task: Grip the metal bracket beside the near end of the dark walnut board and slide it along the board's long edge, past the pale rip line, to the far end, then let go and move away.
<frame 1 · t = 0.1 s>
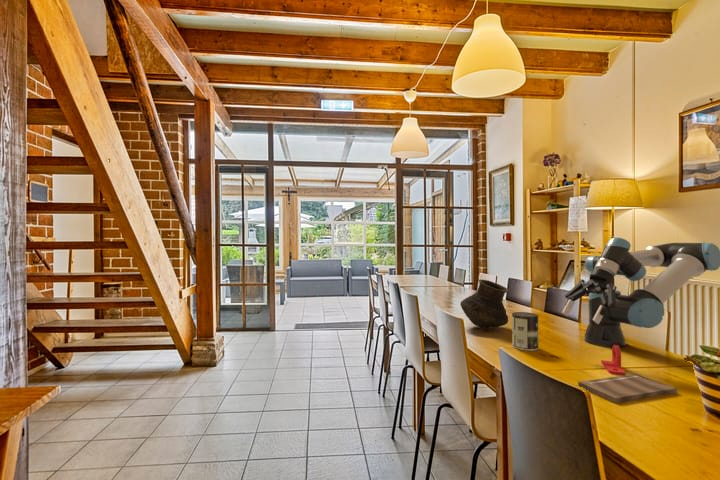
hand: (579, 318, 139), 15 cm above the table, tool tilted 35°, fingers open, 13 cm apart
coffee can: (525, 347, 153), on the table
walnut board: (626, 389, 109), on the table
bracket: (612, 369, 127), on the table
ceramic pot: (484, 328, 186), on the table
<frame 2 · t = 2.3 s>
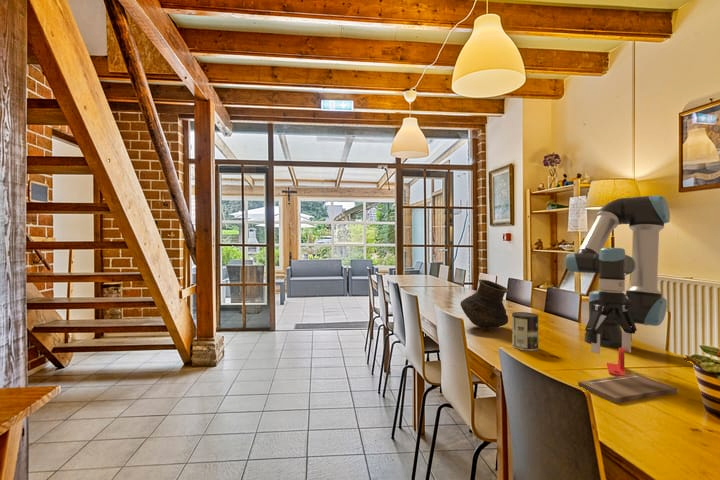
hand: (611, 352, 126), 6 cm above the table, tool pointing down, fingers open, 13 cm apart
bracket: (616, 372, 125), on the table, touching gripper
everything else where it was.
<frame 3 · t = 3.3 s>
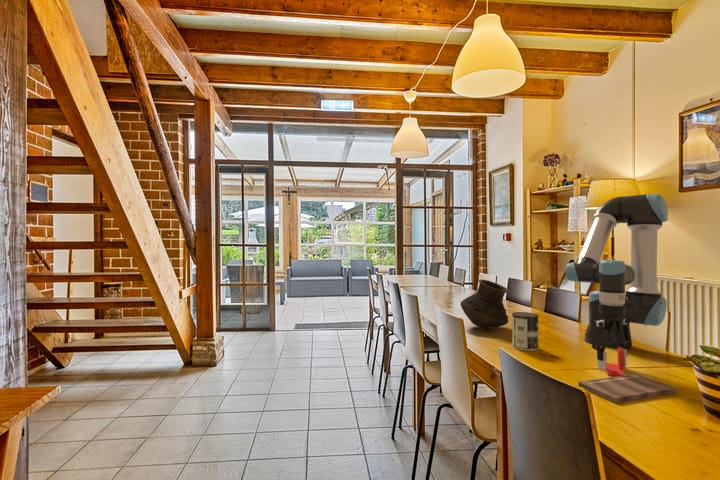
hand: (612, 368, 127), 0 cm above the table, tool pointing down, fingers open, 8 cm apart
bracket: (615, 372, 124), on the table
everything else where it was.
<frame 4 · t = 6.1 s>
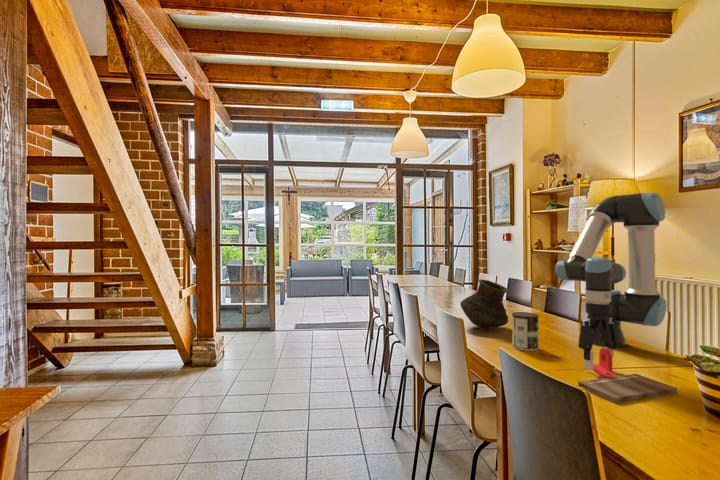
hand: (598, 367, 125), 1 cm above the table, tool pointing down, fingers open, 8 cm apart
bracket: (603, 374, 123), on the table, touching gripper
everything else where it was.
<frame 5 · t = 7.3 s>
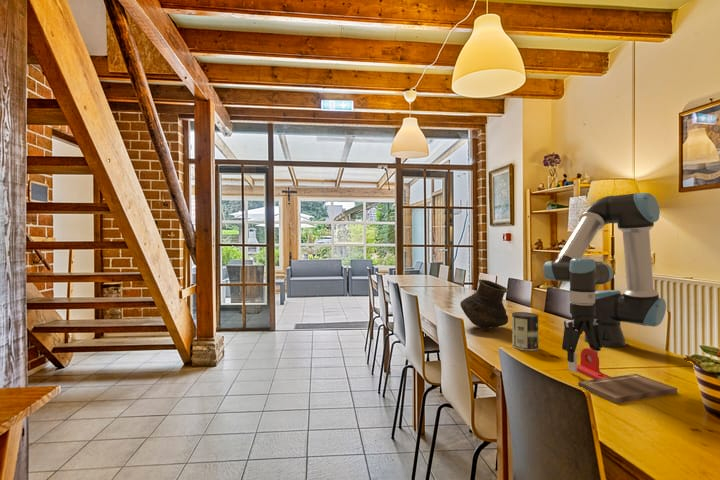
hand: (582, 369, 123), 1 cm above the table, tool pointing down, fingers open, 8 cm apart
bracket: (591, 375, 121), on the table
everything else where it was.
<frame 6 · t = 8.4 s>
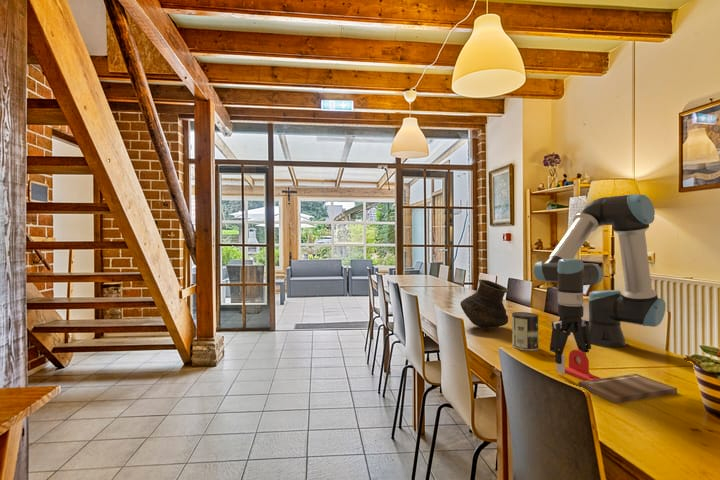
hand: (570, 371, 122), 1 cm above the table, tool pointing down, fingers open, 8 cm apart
bracket: (581, 377, 120), on the table, touching gripper
everything else where it was.
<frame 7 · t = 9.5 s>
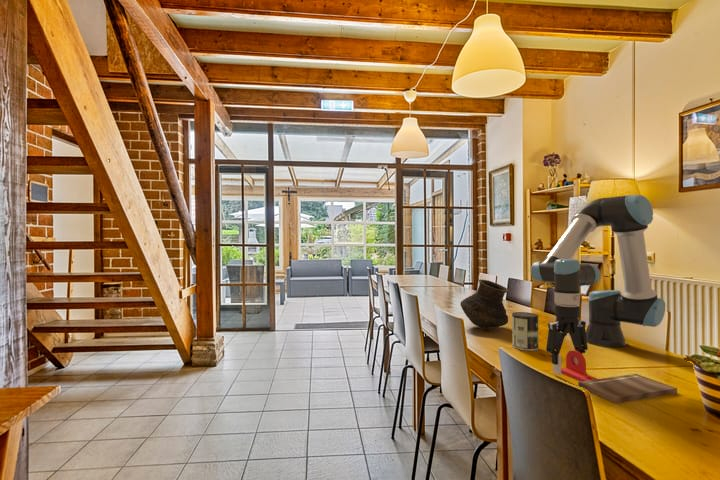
hand: (567, 372, 121), 1 cm above the table, tool pointing down, fingers open, 8 cm apart
bracket: (578, 378, 119), on the table, touching gripper
everything else where it was.
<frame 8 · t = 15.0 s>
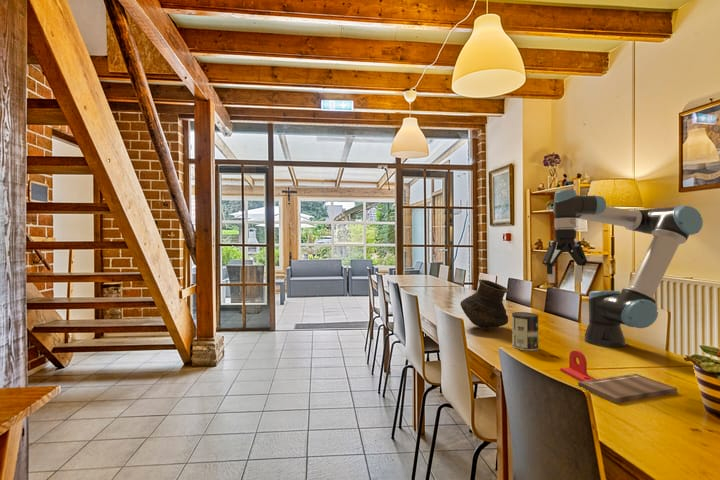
hand: (565, 282, 144), 29 cm above the table, tool pointing down, fingers open, 13 cm apart
bracket: (578, 378, 119), on the table
everything else where it was.
at the end: bracket inside the target area (3.4 cm from its centre), on the table; bracket tilted 0°; the gripper is holding nothing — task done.
